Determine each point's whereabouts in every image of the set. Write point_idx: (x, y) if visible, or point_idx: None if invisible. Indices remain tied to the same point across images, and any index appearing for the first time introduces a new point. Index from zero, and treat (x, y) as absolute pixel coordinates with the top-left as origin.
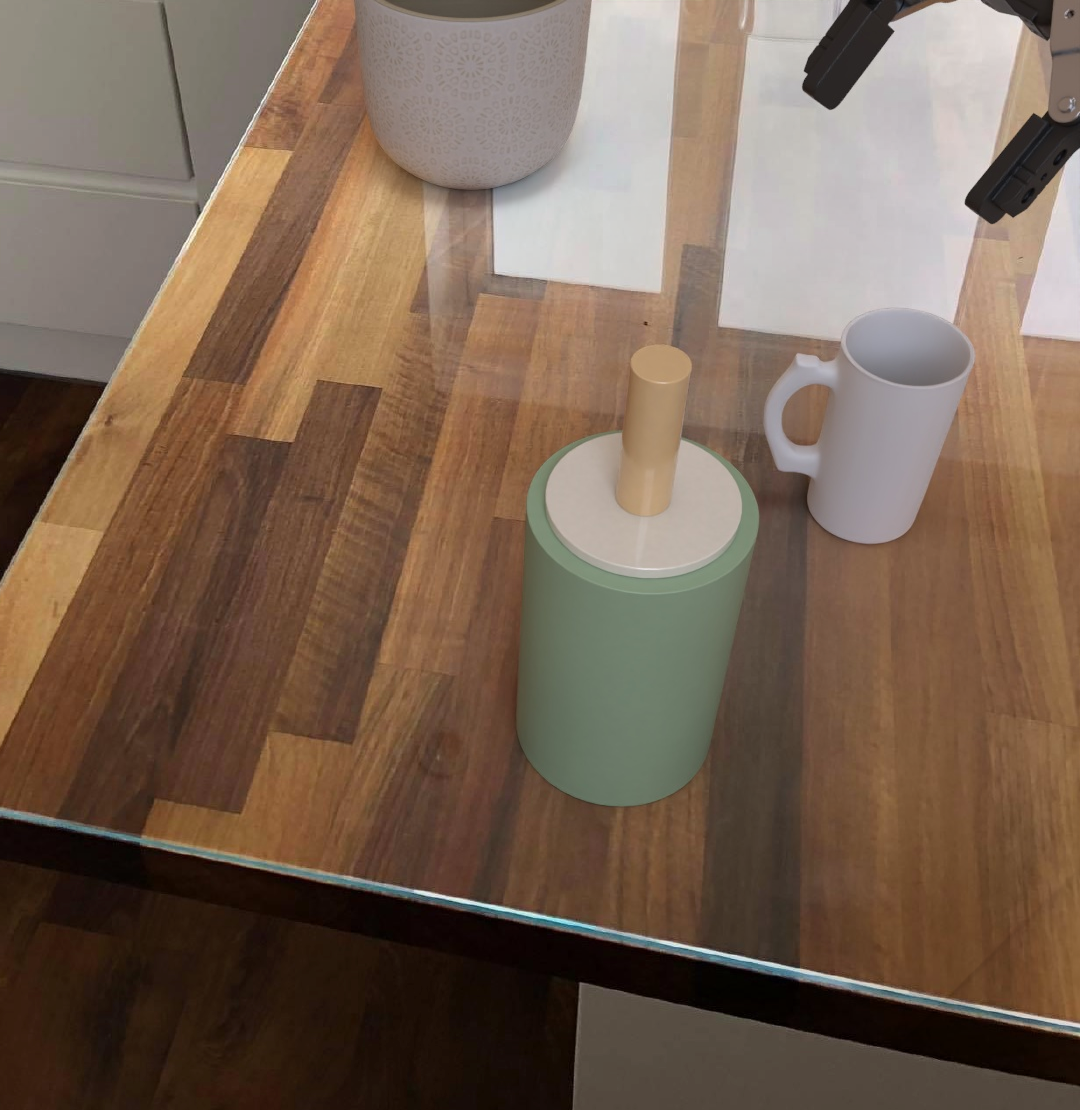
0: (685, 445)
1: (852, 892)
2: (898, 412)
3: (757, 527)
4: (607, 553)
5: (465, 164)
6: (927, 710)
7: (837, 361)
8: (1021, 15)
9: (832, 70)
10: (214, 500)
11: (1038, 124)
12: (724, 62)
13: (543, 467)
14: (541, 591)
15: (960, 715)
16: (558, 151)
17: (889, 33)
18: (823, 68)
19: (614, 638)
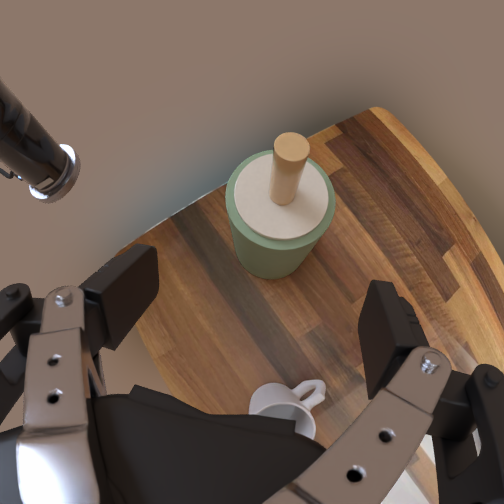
0: (293, 234)
1: (170, 249)
2: (262, 403)
3: (233, 222)
4: (268, 158)
5: None
6: (191, 332)
7: (306, 408)
8: (156, 393)
9: (377, 297)
10: (433, 218)
11: (93, 285)
12: None
13: (330, 185)
14: None
15: (182, 338)
16: (480, 441)
17: (370, 390)
18: (385, 290)
19: None
